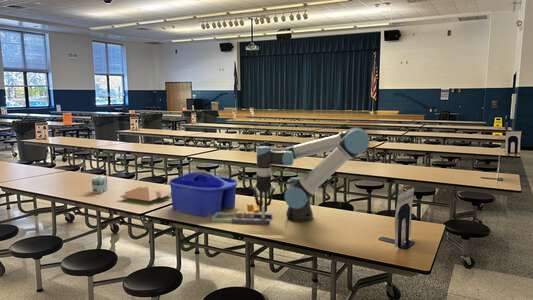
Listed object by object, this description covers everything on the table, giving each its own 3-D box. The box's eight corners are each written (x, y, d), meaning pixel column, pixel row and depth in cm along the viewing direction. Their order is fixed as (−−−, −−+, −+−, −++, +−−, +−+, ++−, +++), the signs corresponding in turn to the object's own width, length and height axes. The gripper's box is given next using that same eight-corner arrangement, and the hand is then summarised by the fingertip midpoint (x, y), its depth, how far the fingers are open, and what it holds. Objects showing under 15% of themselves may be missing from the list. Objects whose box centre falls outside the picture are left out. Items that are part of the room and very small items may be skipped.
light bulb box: (101, 193, 266) (100, 178, 264) (92, 193, 266) (91, 178, 264) (108, 189, 276) (107, 175, 275) (99, 189, 276) (98, 175, 275)
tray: (236, 217, 212) (236, 212, 212) (231, 224, 201) (231, 219, 200) (216, 216, 214) (216, 211, 213) (210, 223, 202) (210, 218, 202)
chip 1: (245, 218, 207) (245, 211, 206) (243, 220, 203) (243, 213, 202) (238, 217, 207) (238, 210, 207) (236, 220, 204) (236, 213, 203)
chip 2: (254, 218, 206) (254, 211, 206) (252, 221, 202) (252, 213, 202) (247, 218, 207) (246, 211, 206) (245, 220, 203) (245, 213, 202)
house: (153, 206, 236) (152, 193, 235) (114, 200, 250) (114, 188, 248) (176, 197, 256) (176, 185, 255) (139, 192, 270) (139, 181, 269)
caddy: (194, 197, 257) (193, 163, 253) (247, 207, 234) (247, 170, 230) (158, 208, 230) (157, 171, 227) (215, 221, 207) (214, 179, 204)
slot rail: (272, 219, 210) (272, 213, 209) (269, 227, 197) (269, 220, 196) (237, 217, 212) (237, 211, 212) (232, 225, 200) (232, 219, 199)
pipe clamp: (253, 216, 215) (253, 205, 214) (247, 215, 218) (247, 204, 217) (265, 211, 225) (265, 201, 224) (259, 210, 227) (260, 199, 226)
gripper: (276, 174, 203) (276, 216, 206) (252, 173, 204) (252, 214, 208) (274, 177, 195) (274, 220, 199) (250, 176, 197) (250, 219, 201)
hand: (263, 217), depth 203 cm, fingers closed
